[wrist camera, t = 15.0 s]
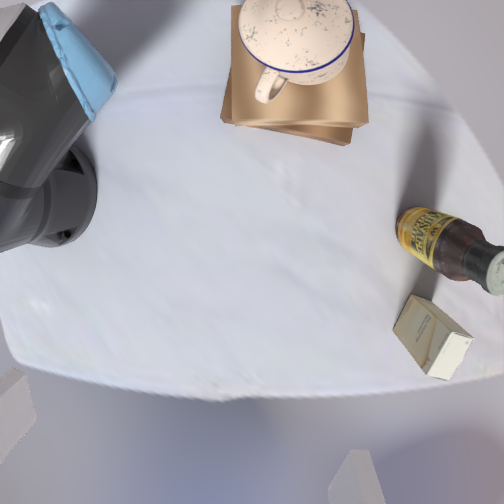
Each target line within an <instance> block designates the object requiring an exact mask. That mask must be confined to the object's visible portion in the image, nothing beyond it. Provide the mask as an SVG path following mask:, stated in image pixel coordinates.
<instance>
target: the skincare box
mask: <svg viewBox="0 0 504 504" xmlns="http://www.w3.org/2000/svg"><path fill="white" fill-rule="evenodd" d="M393 332H394V333H395V335H396V336H397V337H398V338H399V340H400V341H401V342H402V344H403V345H404V346H405V348H406V349H407V350H408V352H409V353H410V354H411V356H412V357H413V358H414V360H415V361H416V362H417V364H418V365H419V366H420V368H421V369H422V370H423V372H424V373H425V375H426V376H428V377H432V378H436V379H440V380H445V381H450V380H451V378H452V377H453V375H454V374H455V372H456V370H457V369H458V367H459V365H460V364H461V362H462V361H463V359H464V357H465V355H466V353H467V352H468V350H469V348H470V346H471V344H472V342H473V341H474V338H473V337H472V336H471V335H470V334H469V333H468V332H466V331H465V330H464V329H463V328H462V327H461V326H460V325H458V324H457V323H456V322H455V321H454V320H453V319H452V318H450V317H449V316H448V315H447V314H446V313H444V312H443V311H442V310H441V309H440V308H439V307H437V306H436V305H435V304H434V303H433V302H431V301H429V300H426V299H424V298H421V297H418V296H415V295H412V294H411V295H410V297H409V299H408V301H407V303H406V305H405V307H404V309H403V311H402V313H401V315H400V317H399V319H398V321H397V323H396V325H395V327H394V329H393Z"/></svg>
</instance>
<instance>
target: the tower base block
mask: <svg viewBox="0 0 504 504" xmlns="http://www.w3.org/2000/svg"><path fill="white" fill-rule="evenodd" d="M360 34H361V41H362V49H363V50H364V41H365V33H361V32H360ZM220 118H221V119H222V121H223V122H224V123H229V124H234V122H233V121H232V74H231V69H230V74H229V78H228V83H227V87H226V92H225V97H224V101H223V106H222V111H221V116H220ZM248 127H254V128H260V129H266V130H271V131H277V132H282V133H287V134H292V135H297V136H301V137H306V138H311V139H315V140H319V141H324V142H328V143H332V144H336V145H340V146H345V145H347V144H350V142H351V136H352V130H353V128H350V127H331V126H298V125H261V126H248Z"/></svg>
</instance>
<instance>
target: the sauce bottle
mask: <svg viewBox="0 0 504 504" xmlns="http://www.w3.org/2000/svg"><path fill="white" fill-rule="evenodd" d="M396 236H397V239H398V241H399V243H400V244H401V246H402V247H403V248H404V249H405V250H406V251H407V252H409V253H410V254H412V255H413V256H415V257H416V258H418V259H419V260H421V261H422V262H424V263H425V264H427V265H428V266H430V267H431V268H433V269H434V270H436V271H437V272H439V273H441V274H443V275H444V276H446V277H447V278H449V279H451V280H454V281H467V280H472V281H475V282H477V283H479V284H480V285H481V286H482V288H483V289H484V290H485V291H487V292H488V293H490V294H492V295H495V296H500V295H503V294H504V246H495V245H492V244H490V243H489V242H487V241H486V239H485V237H484V235H483V233H482V230H481V229H479V228H478V227H476V226H474V225H472V224H470V223H468V222H466V221H464V220H462V219H460V218H457V217H454V216H451V215H447V214H444V213H441V212H437V211H434V210H431V209H428V208H424V207H412V208H409V209H407V210H406V211H404V212H403V213H402V214H401V216H400V217H399V219H398V221H397V225H396Z"/></svg>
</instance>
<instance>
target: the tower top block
mask: <svg viewBox="0 0 504 504" xmlns="http://www.w3.org/2000/svg"><path fill="white" fill-rule="evenodd" d="M241 7H242V5H236V6H231V74H232V121H233V122H234V124H235V126H261V125H298V126H331V127H350V128H359V127H361V126H363V125H365V124H366V123H368V122H369V120H368V103H367V90H366V78H365V68H364V58H363V49H362V41H361V34H360V27H359V20H358V13H357V10H352V9H351V10H352V12H353V16H354V23H355V28H354V34H353V38H352V41H351V43H350V51H349V57H348V60H347V63H346V65H345V66H344V68H343V69H342V70H341V72H340V73H339V74H338V75H336V76H335V77H334V78H332V79H331V80H329V81H326V82H324V83H321V84H316V85H300V84H295V83H292V82H289V81H287V83H286V85H285V86H284V88H283V89H282V91H281V92H280V94H279V95H278V96H277V97H276V98H275V99H274V100H273V101H271V102H270V103H267V104H265V103H262V102H260V101H258V100H257V99H256V98H255V89H256V85H257V83H258V80H259V78H260V76H261V74H262V73H263V71H264V69H265V67H266V66H265V65H263V64H262V63H260V62H259V61H257V60H256V59H255V58H254V57H253V56H252V55H251V54H250V53H249V52H248V51H247V49H246V48H245V46H244V45H243V43H242V40H241V38H240V34H239V29H238V21H239V14H240V10H241Z"/></svg>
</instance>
